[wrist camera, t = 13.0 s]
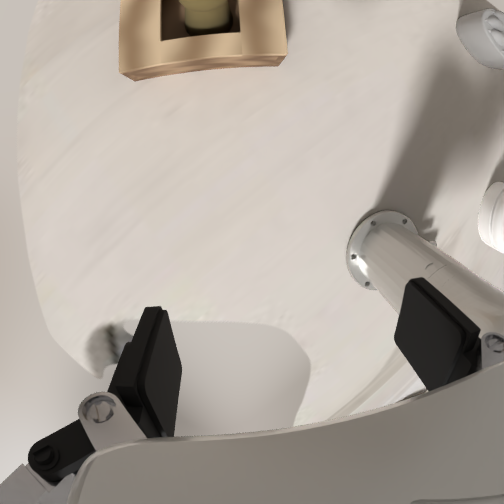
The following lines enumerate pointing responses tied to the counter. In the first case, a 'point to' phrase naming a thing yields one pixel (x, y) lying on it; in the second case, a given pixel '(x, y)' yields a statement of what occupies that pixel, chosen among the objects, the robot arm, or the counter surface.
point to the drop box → (197, 39)
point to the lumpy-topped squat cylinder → (483, 36)
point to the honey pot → (492, 217)
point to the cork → (207, 17)
